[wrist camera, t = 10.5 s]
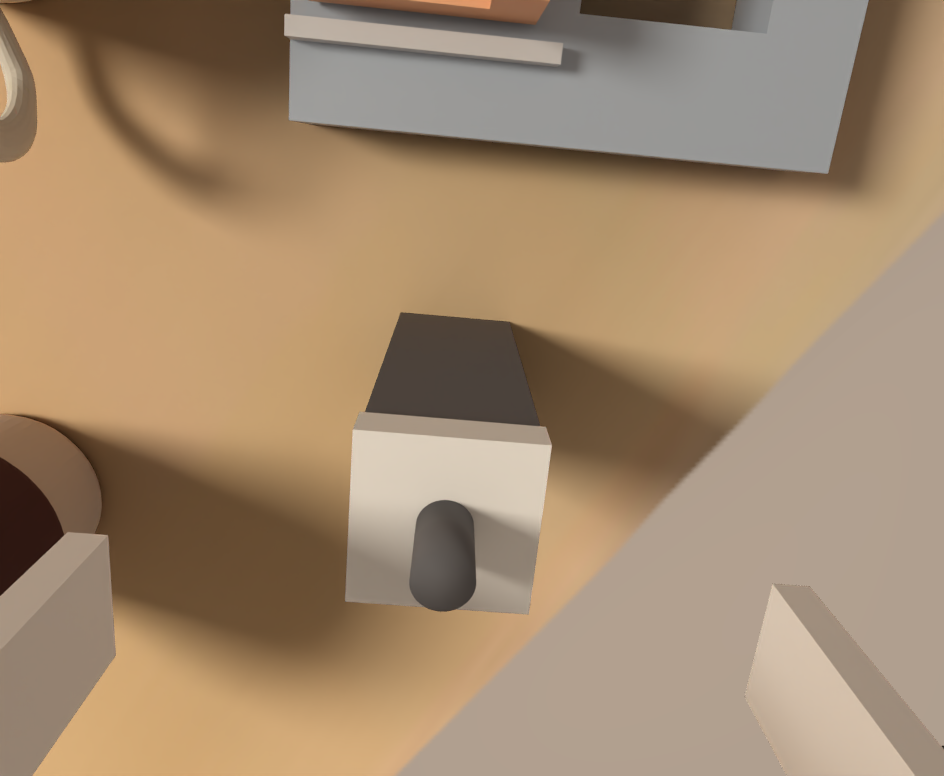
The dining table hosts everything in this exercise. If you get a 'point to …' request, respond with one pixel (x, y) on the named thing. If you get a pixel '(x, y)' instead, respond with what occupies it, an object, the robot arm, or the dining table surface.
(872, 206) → the dining table surface
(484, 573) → the plug
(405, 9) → the block
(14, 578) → the coffee cup
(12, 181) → the dining table surface
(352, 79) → the socket plate
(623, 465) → the dining table surface
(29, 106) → the mug
